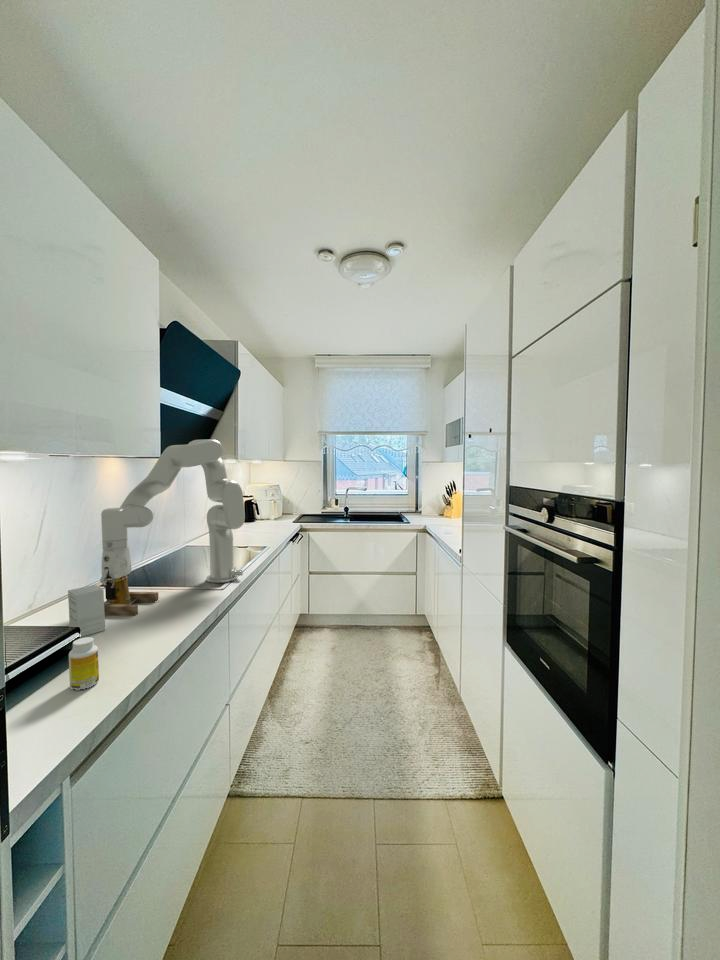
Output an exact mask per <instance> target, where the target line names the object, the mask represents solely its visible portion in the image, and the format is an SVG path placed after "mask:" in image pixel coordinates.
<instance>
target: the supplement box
mask: <svg viewBox="0 0 720 960" xmlns="http://www.w3.org/2000/svg"><path fill="white" fill-rule="evenodd" d="M104 591H105V590H104V588H102V587H99V586H98V585H96V584H92V585H88V586H83V587H78V588H73V589H69V590H67V594H68V596H67V597H68V601H67V602H68V618H69V628H70V627H80V628H81V637H80V638H84V637H87V636H90V635H93V634H96V633H99V632H103V631H106V615H105V614H104V604H105V594H104Z"/></svg>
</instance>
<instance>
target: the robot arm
mask: <svg viewBox="0 0 720 960" xmlns="http://www.w3.org/2000/svg"><path fill="white" fill-rule="evenodd" d="M223 453H224V447H223V445H222V444H221V442H220V441H218V440H216V439H212V438H211V439H194V440H192V441H189V442H188V444H187V443H186V444H174V445H168V446H167V447H166V448H165V449H164V450H163V452H162V453H161V455H160V456H159V458H158V459H157V461H156V463H155V464H154V466H153V468H152V469H151V470H150V471H149V473H148V475H147V476H146V477H145V478H144V479H143V480H141V482H139V484H137V485H136V486H135V487H133V489H132V490H131V491H130V492H129V493H128V494H127V496H126V497H125V499H124V501H123V502H122V504H121V505H120V507H111V508H105V509H102V511H101V513H100V515H101V543H102V544H101V545H102V547H101V548H102V553H101V554H102V555H101V577H100V579H99V582H100V583H101V584H102V585H103V589H105V590H104V591H105V594H104V595H105V600H106V601H107V600H114V599H116V588H115V587H114V585H115V580H116V579H119V578H121V577H123V576H125V577H126V578H127V583H128V581H129V576H130V573H132V559H131V552H130V547H129V545H128V544H129V542H128V529H129V528H130V529H131V528H139V529H140V528H144V527H147V526H148V525H150V524H151V523H152V522H153V519H154V513H153V511H152V510H151V509H150V508H148V507H147V506H146V505H147V504H148V503H149V502H150V501H151V500H152V499H153V498H154V497H156V496H158V495H159V494H161V493H164V492H166V491H167V490H169V489H170V488H171V486H172V485H173V483H174V481H175V479H176V478H177V476H178V474H179V472H180V471H181V469H182V468H192V467H196V466H197V467H198V466H201V467H202V469H203V473H204V479H205V487H206V495H207V498H208V499H209V500H210V501H211V502H214V503H221V504H216V505H212V506H211V507H210V508H209V509H208V510H207V514H206V523H207V528H208V536H209V539H208V540H209V575H207V576H206V579H205V580H206V581H207V582H208V583H212V584H221V583H228V582H229V583H230V582H232V581H235V580H237V579H238V576H241V577H242V576H244V571H243V569H239V570H238V569H237V567H236V566H234V534H233V531H232V530H237V529H240V528H241V527H243V525H244V522H245V521H246V520H245V519H246V512H245V501H244V493H243V490H242V487H241V485H240V484H239V482H237V481H235V480H231V479H228V476H227V472H226V471H227V469H226V466H225V463H224V461H223V459H222V458H221V457H222V455H223ZM109 577H111V578H109ZM109 580H112V581H111V583H110V582H109Z"/></svg>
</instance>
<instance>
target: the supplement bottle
mask: <svg viewBox="0 0 720 960" xmlns="http://www.w3.org/2000/svg"><path fill="white" fill-rule="evenodd" d="M68 672H69V673H68V674H69V675H68V676H69V687H70V689H71V688H72V690H73V689H75V690H74V691H81V690H80V689H84V690H86V689H85V688H87V689H90V688H92V687H94V686H95V685H97V684H98V682H99V681H100V674H99V673H100V668H99V648H98V646H97V645H96V644H95V642H94V638H93V637H91V636H90V637H89V636H85V637H80V638H77V639H76V640H74V641H73V642H72V649H71V650H70V651H69V653H68ZM96 683H97V684H96ZM93 685H94V686H93ZM91 686H92V687H91ZM89 687H90V688H89Z"/></svg>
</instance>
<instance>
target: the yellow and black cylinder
mask: <svg viewBox="0 0 720 960" xmlns="http://www.w3.org/2000/svg"><path fill="white" fill-rule="evenodd" d="M109 578H111V577H109ZM111 581H112V580H109V582H110V583H111ZM114 587H115V588H116V599H114V600H110V602H109V604H129V605H133V603H135V602H134V601H136V600H137V599H138V598H137V599H134V600H131V599H130V594H129V592H130V590H129V584H128V583H127V578H126V577H125V576H123V577H121V578H119V579H116V580H115V585H114Z"/></svg>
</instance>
